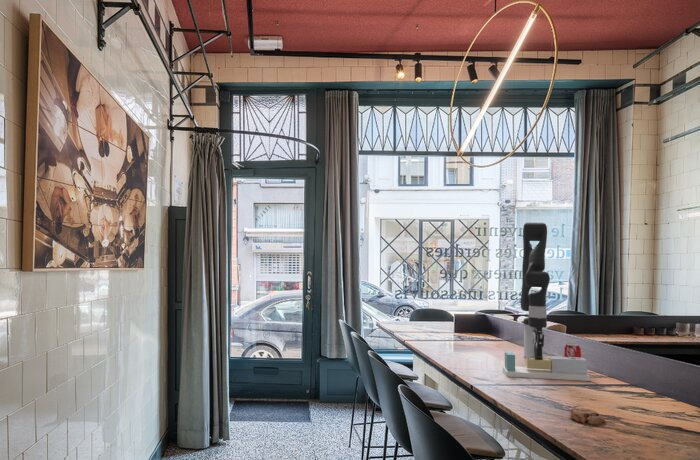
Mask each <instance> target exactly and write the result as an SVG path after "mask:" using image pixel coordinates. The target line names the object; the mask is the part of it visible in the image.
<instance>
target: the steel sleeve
mask: <svg viewBox="0 0 700 460" xmlns="http://www.w3.org/2000/svg"><path fill="white" fill-rule="evenodd" d="M548 359H551V360H552V370H550V371H551V372H552V373H568V374H588V360H587V359H586V358H584V357H582V356H581V357H564V356H558V355H557V356H556V355H555V356H554V355H548Z"/></svg>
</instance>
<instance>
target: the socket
mask: <svg viewBox="0 0 700 460" xmlns="http://www.w3.org/2000/svg"><path fill="white" fill-rule="evenodd" d="M504 366H505V368H506V369H507V371H515V367H516V355H515V353H514V352H513V351H509V350H508V351H504Z"/></svg>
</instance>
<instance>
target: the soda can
mask: <svg viewBox="0 0 700 460" xmlns="http://www.w3.org/2000/svg"><path fill="white" fill-rule="evenodd" d="M581 350H582V349H581V347H580V344H578V343H574V342H573V343H570V342H567V343H565V346H564V350H563V352H564V353H563V354H564V356H563V357H581V358H582V351H581Z"/></svg>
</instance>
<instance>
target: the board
mask: <svg viewBox="0 0 700 460" xmlns="http://www.w3.org/2000/svg"><path fill="white" fill-rule="evenodd" d="M502 372H503V373H504V375H505V377H511V378H526V379H527V378H532V379H547V380H549V379H550V380H564V381H565V380H566V381H567V380H568V381H584V382H585V381H586V382H590V381H591V375H589V374H588V373H587V374H568V373H552V372H551V371H550V370H546V369H527V368H526V366H515V371H507V369H506V368H505V365H502Z"/></svg>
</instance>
